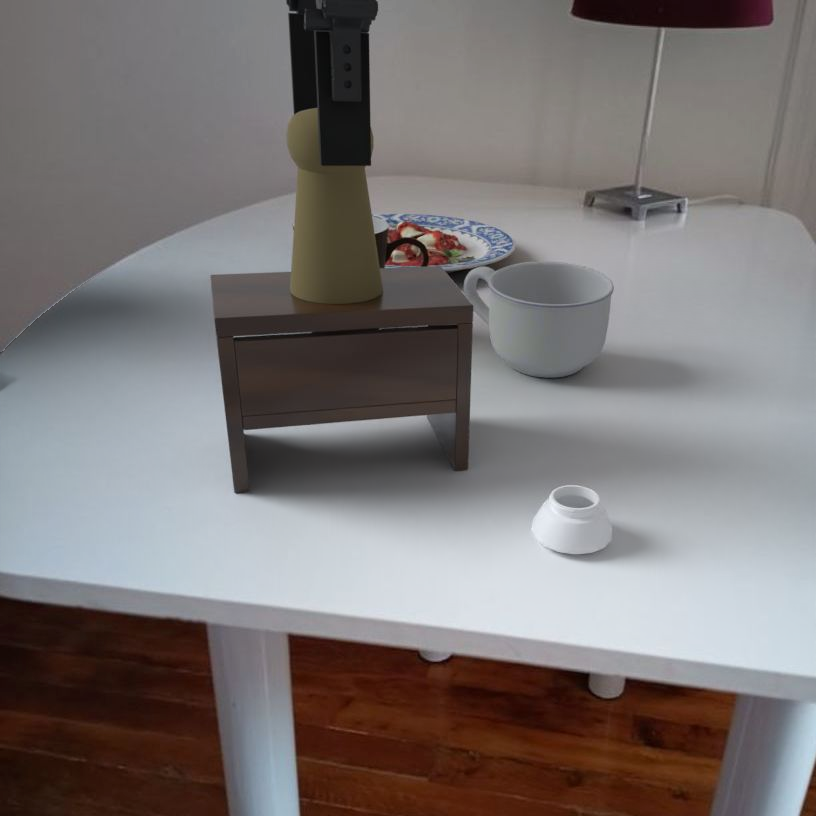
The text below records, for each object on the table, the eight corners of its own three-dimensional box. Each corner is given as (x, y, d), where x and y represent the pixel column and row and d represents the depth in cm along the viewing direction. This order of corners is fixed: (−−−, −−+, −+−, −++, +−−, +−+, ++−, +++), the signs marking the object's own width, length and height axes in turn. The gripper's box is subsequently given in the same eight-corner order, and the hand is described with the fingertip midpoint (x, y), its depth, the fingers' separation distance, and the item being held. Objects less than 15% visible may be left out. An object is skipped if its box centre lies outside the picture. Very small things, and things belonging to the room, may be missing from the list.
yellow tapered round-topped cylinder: (401, 287, 61) (399, 110, 56) (343, 310, 56) (336, 119, 51) (330, 270, 64) (322, 99, 58) (270, 291, 59) (255, 107, 54)
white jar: (536, 512, 60) (526, 553, 56) (539, 473, 58) (529, 512, 54) (612, 521, 59) (608, 564, 55) (617, 482, 58) (613, 522, 54)
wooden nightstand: (228, 434, 68) (210, 274, 62) (438, 416, 72) (440, 265, 66) (234, 493, 60) (214, 318, 54) (468, 469, 65) (473, 305, 59)
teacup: (628, 367, 83) (638, 280, 79) (553, 400, 76) (560, 306, 72) (512, 327, 91) (517, 246, 87) (434, 354, 84) (435, 267, 79)
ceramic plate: (260, 247, 111) (258, 222, 110) (428, 221, 127) (428, 199, 125) (383, 303, 95) (382, 275, 94) (558, 265, 110) (560, 241, 109)
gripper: (446, -375, 36) (435, 186, 46) (349, -260, 56) (357, 111, 67) (248, -408, 34) (285, 187, 44) (222, -276, 54) (252, 110, 65)
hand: (328, 143), depth 56 cm, fingers open, 13 cm apart
